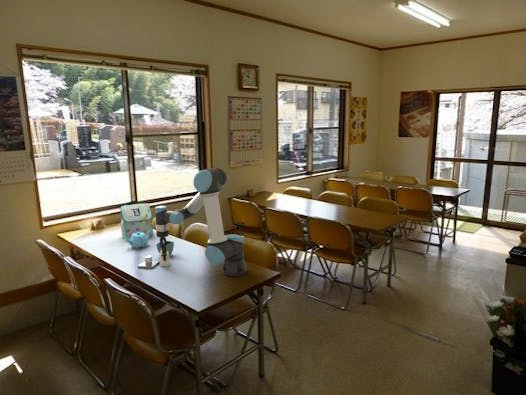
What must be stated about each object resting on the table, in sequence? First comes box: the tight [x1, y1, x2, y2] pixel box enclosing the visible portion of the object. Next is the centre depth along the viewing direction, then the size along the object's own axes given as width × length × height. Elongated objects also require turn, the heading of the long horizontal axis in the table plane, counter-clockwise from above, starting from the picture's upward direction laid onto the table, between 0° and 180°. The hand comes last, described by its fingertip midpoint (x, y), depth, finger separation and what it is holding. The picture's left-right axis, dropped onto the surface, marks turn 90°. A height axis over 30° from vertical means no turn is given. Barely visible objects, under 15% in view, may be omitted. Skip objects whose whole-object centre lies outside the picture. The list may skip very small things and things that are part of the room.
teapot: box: [124, 230, 151, 250], centre depth 284 cm, size 15×14×11 cm
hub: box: [137, 255, 160, 270], centre depth 247 cm, size 10×10×6 cm
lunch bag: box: [119, 203, 154, 240], centre depth 306 cm, size 23×16×27 cm
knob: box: [158, 251, 171, 267], centre depth 249 cm, size 6×6×8 cm
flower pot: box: [156, 240, 175, 256], centre depth 266 cm, size 9×9×9 cm
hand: (164, 261), depth 250 cm, fingers open, 13 cm apart
